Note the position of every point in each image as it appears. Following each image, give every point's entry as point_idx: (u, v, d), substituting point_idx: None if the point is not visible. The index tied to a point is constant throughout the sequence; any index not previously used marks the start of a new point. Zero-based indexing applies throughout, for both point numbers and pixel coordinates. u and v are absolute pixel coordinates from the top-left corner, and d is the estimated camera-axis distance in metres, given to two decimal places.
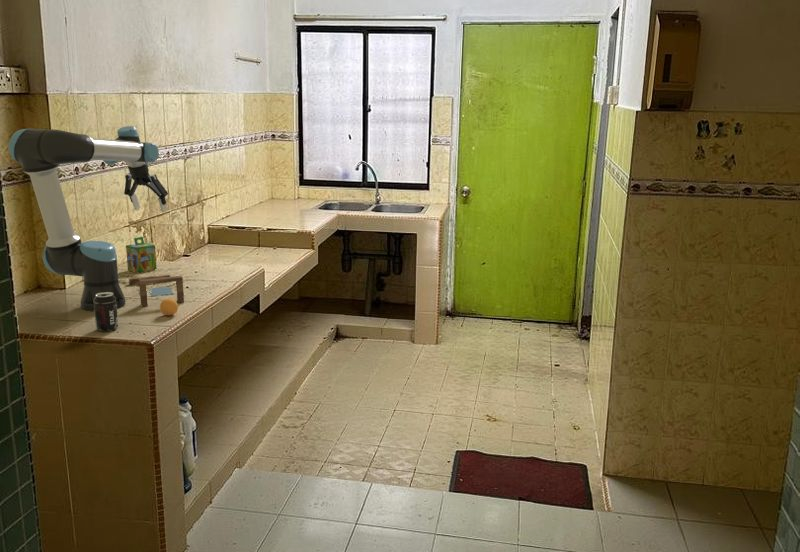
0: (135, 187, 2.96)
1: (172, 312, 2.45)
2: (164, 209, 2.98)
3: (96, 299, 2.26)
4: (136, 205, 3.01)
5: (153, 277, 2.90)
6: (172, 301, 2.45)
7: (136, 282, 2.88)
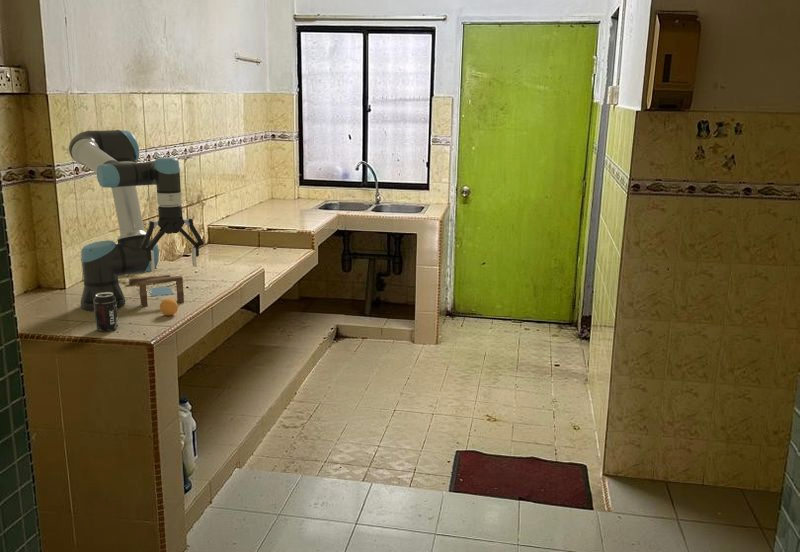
0: None
1: (172, 312, 2.45)
2: (151, 267, 2.33)
3: (96, 299, 2.26)
4: (192, 260, 2.39)
5: (153, 277, 2.90)
6: (172, 301, 2.45)
7: (136, 282, 2.88)
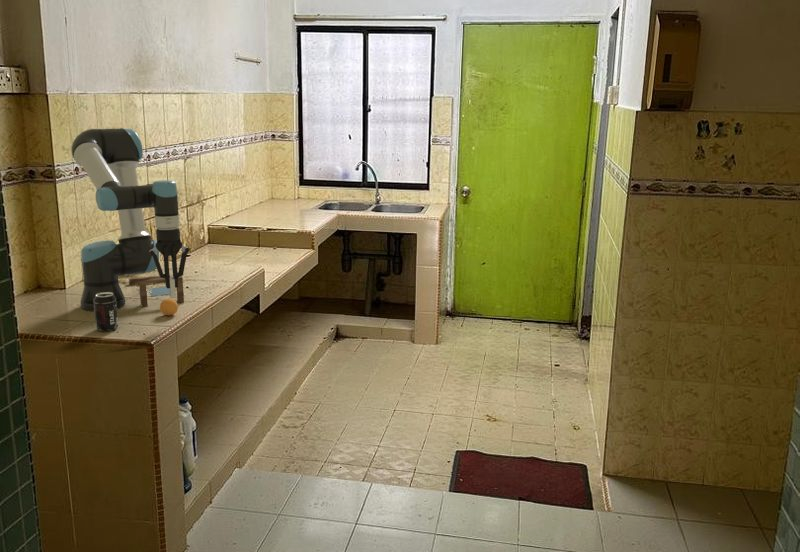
0: (172, 261, 2.35)
1: (172, 312, 2.45)
2: (170, 294, 2.37)
3: (96, 299, 2.26)
4: None
5: (153, 277, 2.90)
6: (172, 301, 2.45)
7: (136, 282, 2.88)
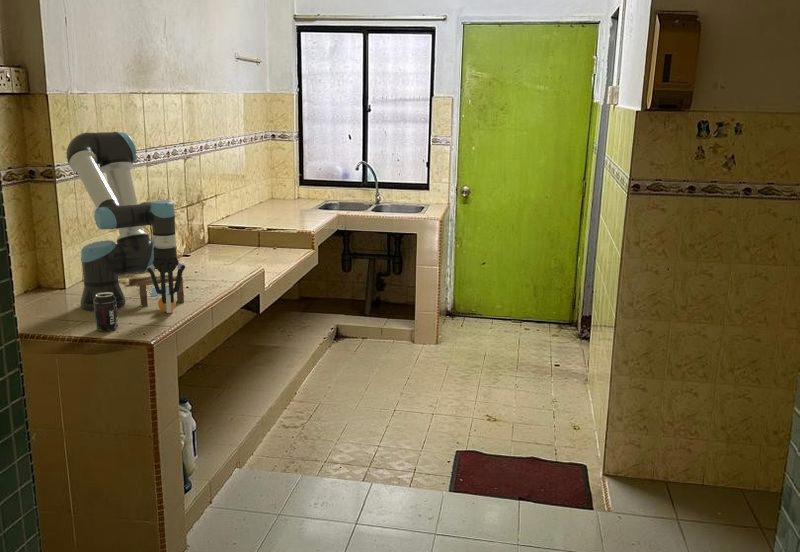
0: (168, 278, 2.45)
1: None
2: (166, 309, 2.47)
3: (96, 299, 2.26)
4: None
5: None
6: None
7: (136, 282, 2.88)
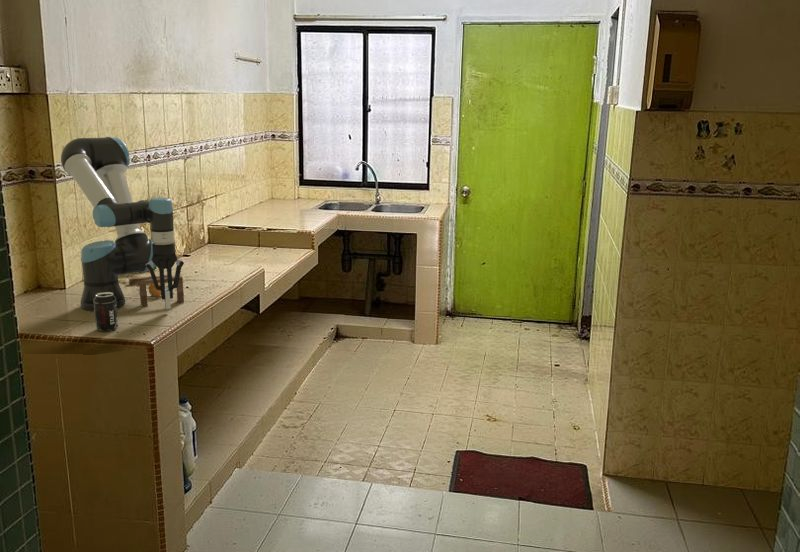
0: (167, 274, 2.48)
1: None
2: (165, 305, 2.49)
3: (96, 299, 2.26)
4: None
5: None
6: None
7: (136, 282, 2.88)
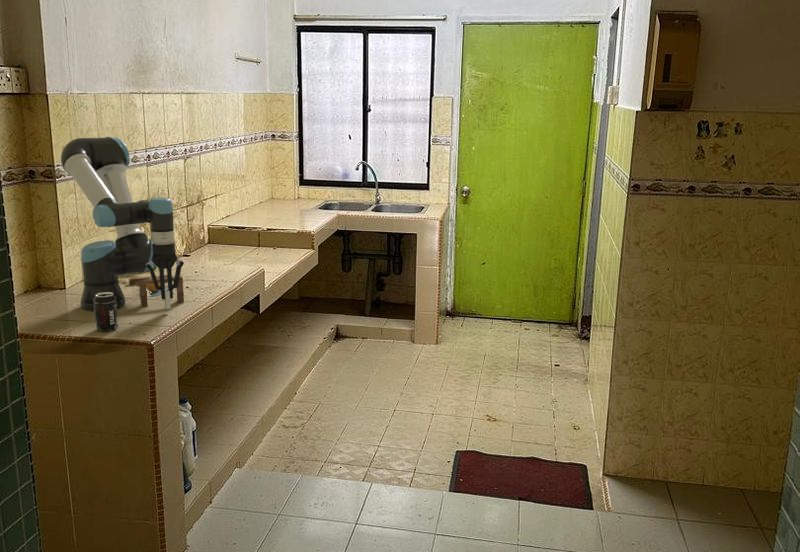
0: (167, 274, 2.48)
1: None
2: (165, 305, 2.49)
3: (96, 299, 2.26)
4: None
5: None
6: None
7: (136, 282, 2.88)
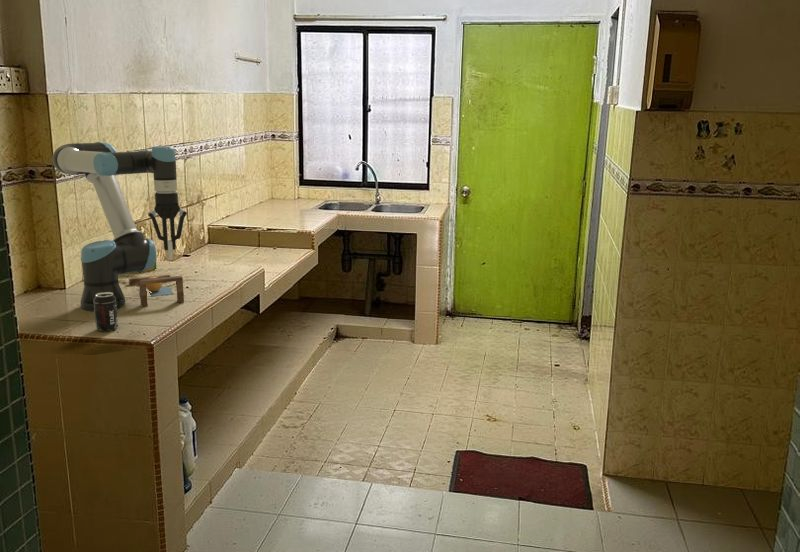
0: (170, 224, 2.45)
1: None
2: (168, 256, 2.47)
3: (96, 299, 2.26)
4: None
5: None
6: (157, 286, 2.75)
7: (136, 282, 2.88)
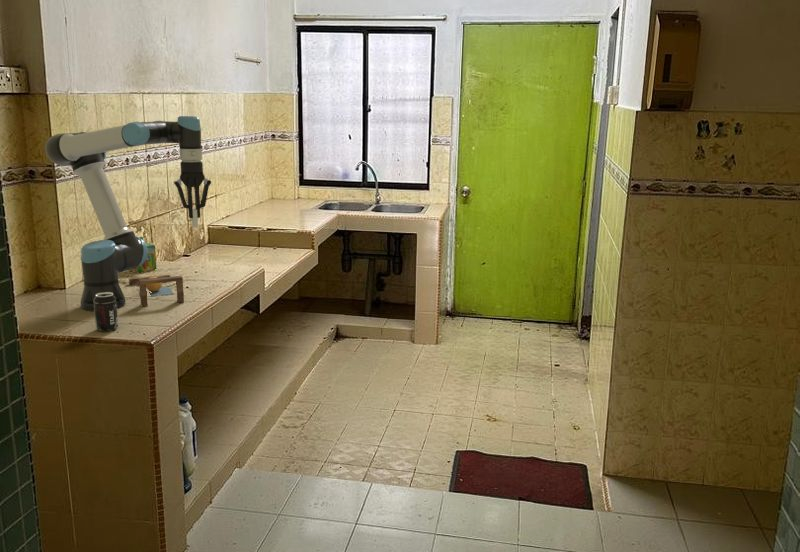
0: (195, 193, 2.51)
1: None
2: (192, 224, 2.52)
3: (96, 299, 2.26)
4: None
5: None
6: (157, 286, 2.75)
7: (136, 282, 2.88)
